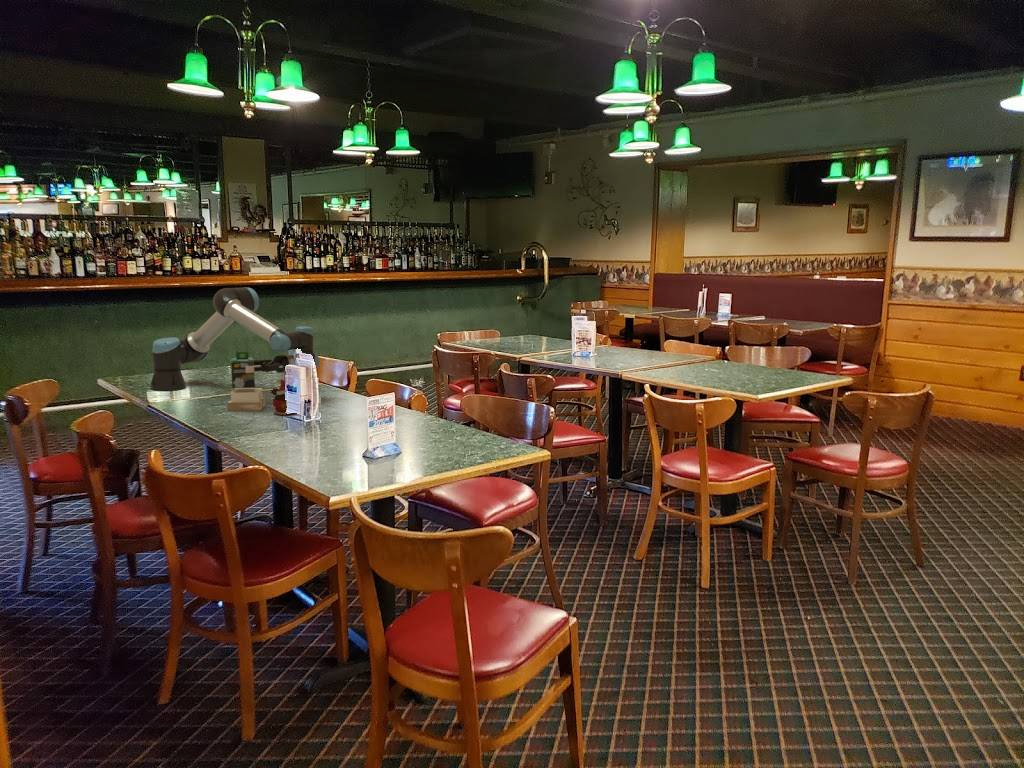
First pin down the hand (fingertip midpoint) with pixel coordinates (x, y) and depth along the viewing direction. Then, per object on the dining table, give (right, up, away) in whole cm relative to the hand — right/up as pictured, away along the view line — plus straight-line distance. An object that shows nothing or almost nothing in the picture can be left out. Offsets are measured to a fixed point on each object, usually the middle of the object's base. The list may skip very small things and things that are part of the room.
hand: (238, 367), depth 308 cm
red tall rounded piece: (+20, -19, -3) cm, 28 cm away
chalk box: (+1, -8, +3) cm, 8 cm away
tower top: (+2, -13, +5) cm, 14 cm away
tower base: (+2, -17, +5) cm, 18 cm away
